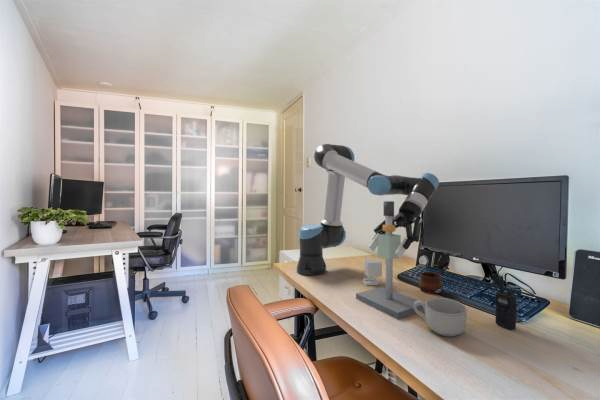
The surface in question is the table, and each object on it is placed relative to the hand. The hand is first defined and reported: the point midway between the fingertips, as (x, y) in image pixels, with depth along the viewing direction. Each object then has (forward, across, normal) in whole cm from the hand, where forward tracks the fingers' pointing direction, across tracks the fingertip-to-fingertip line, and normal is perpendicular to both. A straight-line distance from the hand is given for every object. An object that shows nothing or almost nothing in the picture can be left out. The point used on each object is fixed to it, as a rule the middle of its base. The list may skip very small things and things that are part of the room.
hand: (383, 251), depth 100 cm
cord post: (+12, 0, -15) cm, 19 cm away
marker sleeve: (0, 0, -3) cm, 3 cm away
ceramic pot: (-5, +1, -33) cm, 33 cm away
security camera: (+4, +20, -23) cm, 31 cm away
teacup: (+13, -21, -14) cm, 29 cm away
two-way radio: (0, -30, -28) cm, 41 cm away
